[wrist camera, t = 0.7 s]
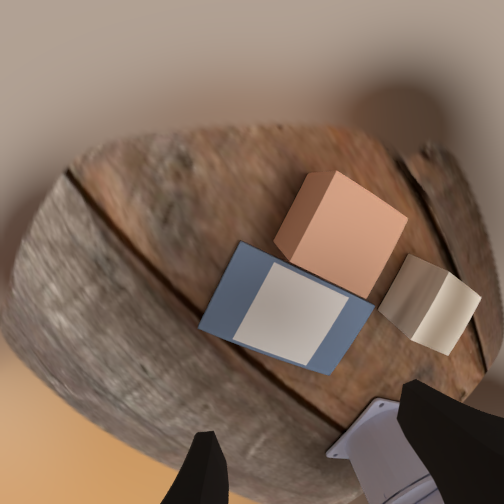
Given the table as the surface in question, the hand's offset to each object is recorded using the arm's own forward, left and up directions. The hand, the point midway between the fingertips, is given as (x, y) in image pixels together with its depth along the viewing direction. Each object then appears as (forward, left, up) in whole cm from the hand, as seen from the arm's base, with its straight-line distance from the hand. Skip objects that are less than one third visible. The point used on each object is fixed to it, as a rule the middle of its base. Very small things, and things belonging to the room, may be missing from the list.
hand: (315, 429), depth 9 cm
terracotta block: (0, -7, -10) cm, 12 cm away
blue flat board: (-1, -1, -10) cm, 10 cm away
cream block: (-9, -6, -10) cm, 14 cm away
